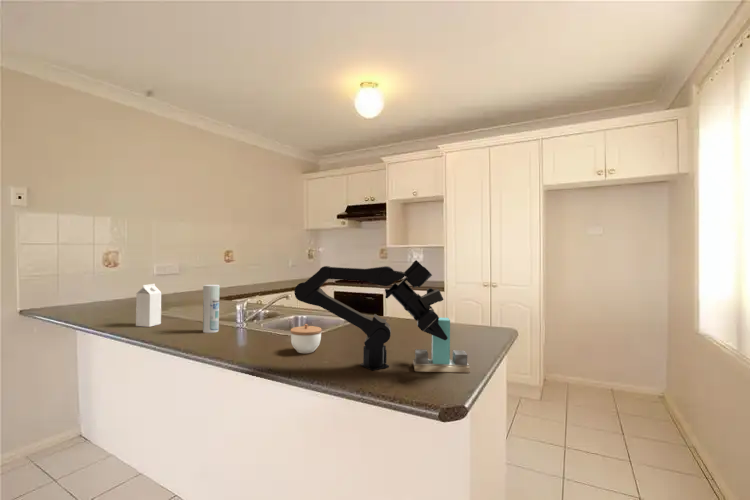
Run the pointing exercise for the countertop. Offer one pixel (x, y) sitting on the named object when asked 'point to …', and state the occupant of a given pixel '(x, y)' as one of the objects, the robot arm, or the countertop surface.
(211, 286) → the spray can
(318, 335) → the lidded jar
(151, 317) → the milk carton
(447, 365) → the board
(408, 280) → the robot arm
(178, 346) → the countertop surface
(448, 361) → the block
